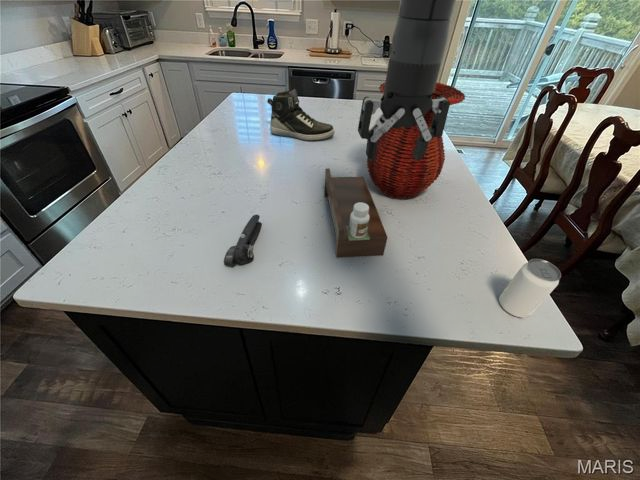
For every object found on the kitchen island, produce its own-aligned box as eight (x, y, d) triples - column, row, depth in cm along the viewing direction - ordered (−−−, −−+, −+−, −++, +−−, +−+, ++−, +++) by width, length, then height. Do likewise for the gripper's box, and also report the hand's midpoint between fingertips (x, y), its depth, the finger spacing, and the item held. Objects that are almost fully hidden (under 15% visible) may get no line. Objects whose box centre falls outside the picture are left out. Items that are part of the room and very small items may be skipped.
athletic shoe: (274, 129, 132) (270, 85, 120) (335, 134, 128) (337, 89, 116) (266, 137, 124) (261, 91, 113) (331, 143, 120) (333, 96, 109)
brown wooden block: (383, 257, 74) (390, 229, 68) (336, 259, 73) (339, 231, 67) (361, 193, 95) (364, 167, 88) (324, 194, 94) (325, 168, 87)
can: (522, 294, 67) (552, 257, 58) (536, 319, 62) (571, 283, 54) (493, 293, 67) (519, 256, 58) (505, 318, 62) (536, 281, 54)
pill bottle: (359, 241, 68) (363, 215, 63) (344, 232, 71) (347, 206, 65) (370, 232, 71) (375, 206, 66) (355, 224, 73) (359, 198, 68)
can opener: (250, 273, 69) (246, 256, 65) (221, 268, 69) (216, 251, 66) (271, 225, 82) (270, 209, 78) (247, 222, 82) (244, 205, 79)
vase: (358, 168, 106) (371, 76, 86) (422, 170, 107) (450, 79, 87) (366, 207, 89) (384, 103, 69) (443, 208, 90) (483, 106, 69)
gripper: (374, 61, 39) (360, 170, 50) (474, 62, 41) (439, 168, 52) (362, 50, 45) (352, 151, 56) (451, 51, 46) (424, 149, 57)
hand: (394, 159), depth 54 cm, fingers open, 8 cm apart
